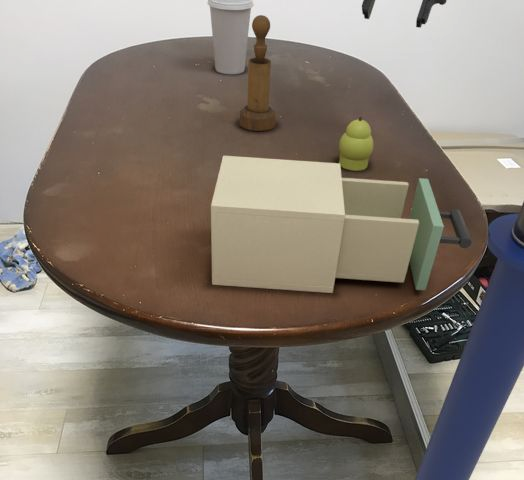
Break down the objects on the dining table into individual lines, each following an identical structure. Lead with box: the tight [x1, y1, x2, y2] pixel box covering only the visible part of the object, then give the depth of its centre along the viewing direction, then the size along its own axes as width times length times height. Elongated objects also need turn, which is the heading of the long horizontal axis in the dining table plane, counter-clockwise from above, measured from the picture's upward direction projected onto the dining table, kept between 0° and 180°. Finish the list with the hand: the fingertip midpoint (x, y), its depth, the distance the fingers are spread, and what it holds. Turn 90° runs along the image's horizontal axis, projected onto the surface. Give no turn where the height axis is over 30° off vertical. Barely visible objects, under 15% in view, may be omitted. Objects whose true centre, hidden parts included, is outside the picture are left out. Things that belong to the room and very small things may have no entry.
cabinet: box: [210, 155, 345, 294], centre depth 73 cm, size 15×13×11 cm
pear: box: [338, 115, 375, 172], centre depth 96 cm, size 6×6×8 cm
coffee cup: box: [207, 0, 254, 75], centre depth 126 cm, size 10×10×15 cm
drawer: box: [335, 177, 473, 291], centre depth 73 cm, size 18×12×9 cm, turn 87°
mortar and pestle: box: [239, 14, 277, 132], centre depth 103 cm, size 7×6×18 cm
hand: (392, 20), depth 94 cm, fingers open, 8 cm apart
